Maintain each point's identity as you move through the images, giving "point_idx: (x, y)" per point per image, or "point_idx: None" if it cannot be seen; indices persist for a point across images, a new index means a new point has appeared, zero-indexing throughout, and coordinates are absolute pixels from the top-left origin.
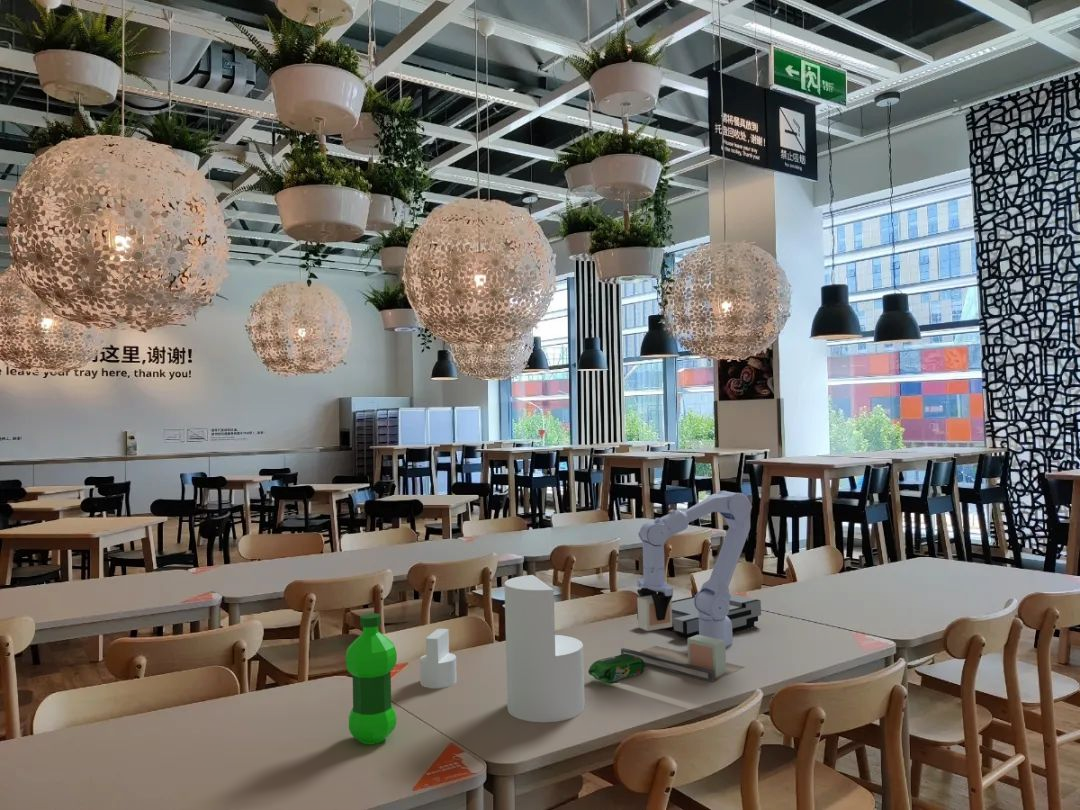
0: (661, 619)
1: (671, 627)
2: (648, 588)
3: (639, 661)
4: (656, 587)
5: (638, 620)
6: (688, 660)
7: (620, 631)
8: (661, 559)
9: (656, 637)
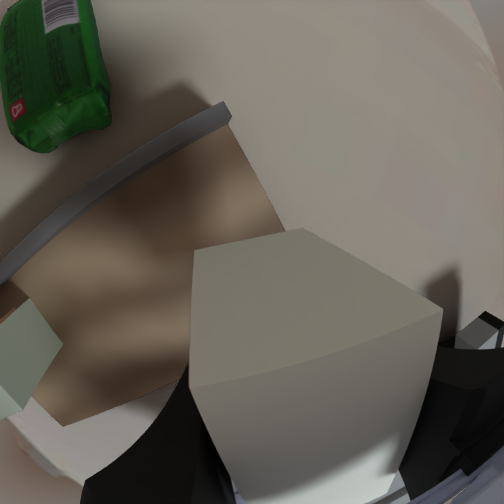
0: None
1: None
2: (454, 478)
3: (7, 122)
4: None
5: (313, 238)
6: (13, 312)
7: (478, 254)
8: None
9: None
